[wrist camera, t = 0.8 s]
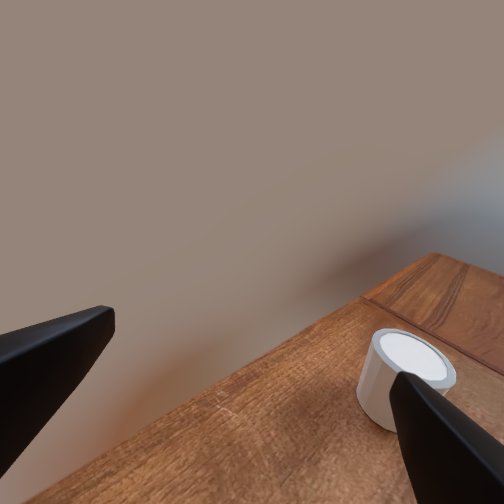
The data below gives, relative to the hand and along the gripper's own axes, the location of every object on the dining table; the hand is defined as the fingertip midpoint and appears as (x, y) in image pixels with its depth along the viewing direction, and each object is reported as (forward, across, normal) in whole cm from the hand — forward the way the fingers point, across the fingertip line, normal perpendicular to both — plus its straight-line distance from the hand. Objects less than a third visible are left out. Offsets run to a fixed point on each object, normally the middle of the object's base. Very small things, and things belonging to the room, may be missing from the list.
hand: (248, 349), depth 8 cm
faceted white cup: (+15, -14, +16) cm, 26 cm away
